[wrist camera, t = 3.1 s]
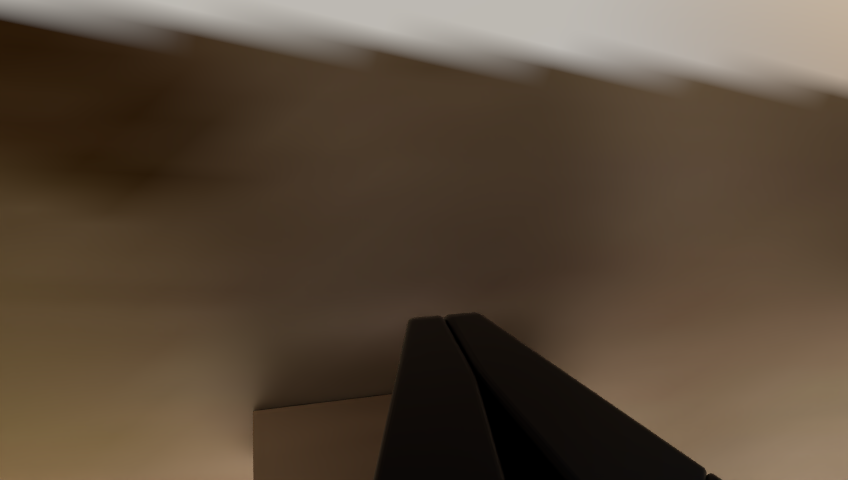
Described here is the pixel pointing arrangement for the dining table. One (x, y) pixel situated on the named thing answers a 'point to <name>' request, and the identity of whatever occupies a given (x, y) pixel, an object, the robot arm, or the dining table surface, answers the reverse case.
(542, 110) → the dining table surface
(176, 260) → the dining table surface
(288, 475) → the tray
